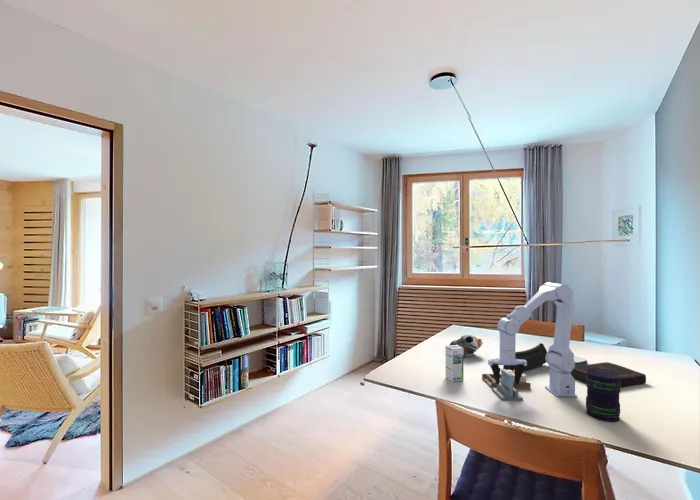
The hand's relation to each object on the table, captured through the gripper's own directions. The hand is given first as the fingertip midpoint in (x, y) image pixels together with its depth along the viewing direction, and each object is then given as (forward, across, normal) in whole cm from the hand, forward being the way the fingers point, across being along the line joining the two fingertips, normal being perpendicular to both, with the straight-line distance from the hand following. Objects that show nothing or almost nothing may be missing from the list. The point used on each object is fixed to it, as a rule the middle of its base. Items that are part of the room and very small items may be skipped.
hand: (507, 383), depth 144 cm
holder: (+5, 0, 0) cm, 5 cm away
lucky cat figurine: (+5, -1, -54) cm, 54 cm away
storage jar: (+5, -26, +17) cm, 31 cm away
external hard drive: (+5, -49, -49) cm, 69 cm away
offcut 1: (+4, -7, -12) cm, 14 cm away
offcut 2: (+4, -10, -12) cm, 16 cm away
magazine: (+5, -22, -31) cm, 38 cm away
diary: (+5, -51, -18) cm, 54 cm away
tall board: (+4, 0, 0) cm, 4 cm away
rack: (+5, -4, -12) cm, 14 cm away
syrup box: (+5, +16, -17) cm, 24 cm away
